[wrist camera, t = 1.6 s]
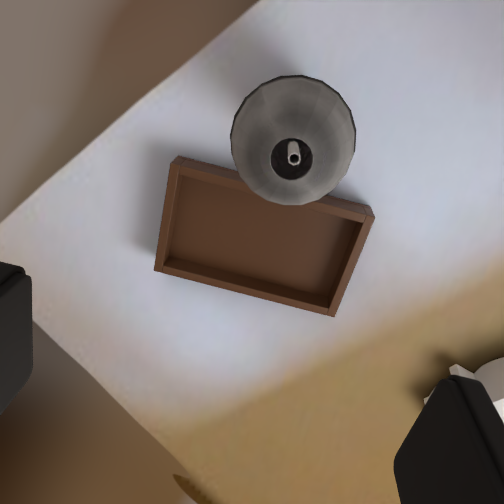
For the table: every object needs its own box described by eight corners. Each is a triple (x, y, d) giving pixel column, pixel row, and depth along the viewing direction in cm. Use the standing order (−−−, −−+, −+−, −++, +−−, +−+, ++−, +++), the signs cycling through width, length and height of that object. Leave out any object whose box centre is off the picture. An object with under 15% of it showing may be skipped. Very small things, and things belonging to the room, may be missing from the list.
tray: (370, 206, 38) (375, 217, 36) (332, 302, 43) (334, 317, 40) (178, 155, 37) (170, 162, 35) (161, 258, 42) (153, 270, 40)
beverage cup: (245, 150, 37) (196, 256, 19) (254, 58, 33) (205, 80, 16) (330, 161, 36) (360, 279, 19) (347, 69, 33) (405, 104, 15)
